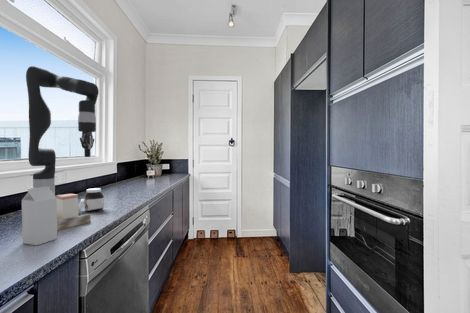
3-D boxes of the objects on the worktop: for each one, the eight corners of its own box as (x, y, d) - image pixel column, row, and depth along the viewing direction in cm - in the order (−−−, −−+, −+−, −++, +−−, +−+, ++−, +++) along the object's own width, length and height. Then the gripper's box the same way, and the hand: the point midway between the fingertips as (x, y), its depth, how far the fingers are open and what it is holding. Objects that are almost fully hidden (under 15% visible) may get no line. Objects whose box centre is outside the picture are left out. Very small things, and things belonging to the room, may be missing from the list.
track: (42, 233, 97) (42, 219, 97) (33, 229, 102) (33, 215, 102) (90, 222, 112) (90, 209, 112) (80, 219, 117) (80, 207, 117)
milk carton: (57, 239, 91) (56, 186, 90) (36, 246, 84) (35, 189, 84) (43, 236, 93) (42, 185, 93) (22, 243, 86) (21, 188, 86)
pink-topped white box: (62, 223, 104) (62, 196, 104) (56, 221, 108) (55, 195, 107) (78, 219, 109) (78, 194, 109) (71, 217, 113) (71, 193, 113)
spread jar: (106, 210, 134) (106, 188, 134) (84, 215, 125) (84, 191, 125) (94, 207, 141) (94, 187, 141) (72, 212, 131) (72, 189, 131)
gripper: (83, 123, 130) (84, 156, 130) (73, 120, 117) (73, 157, 118) (99, 123, 132) (100, 156, 132) (90, 120, 119) (91, 157, 119)
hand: (87, 156), depth 125 cm, fingers closed
